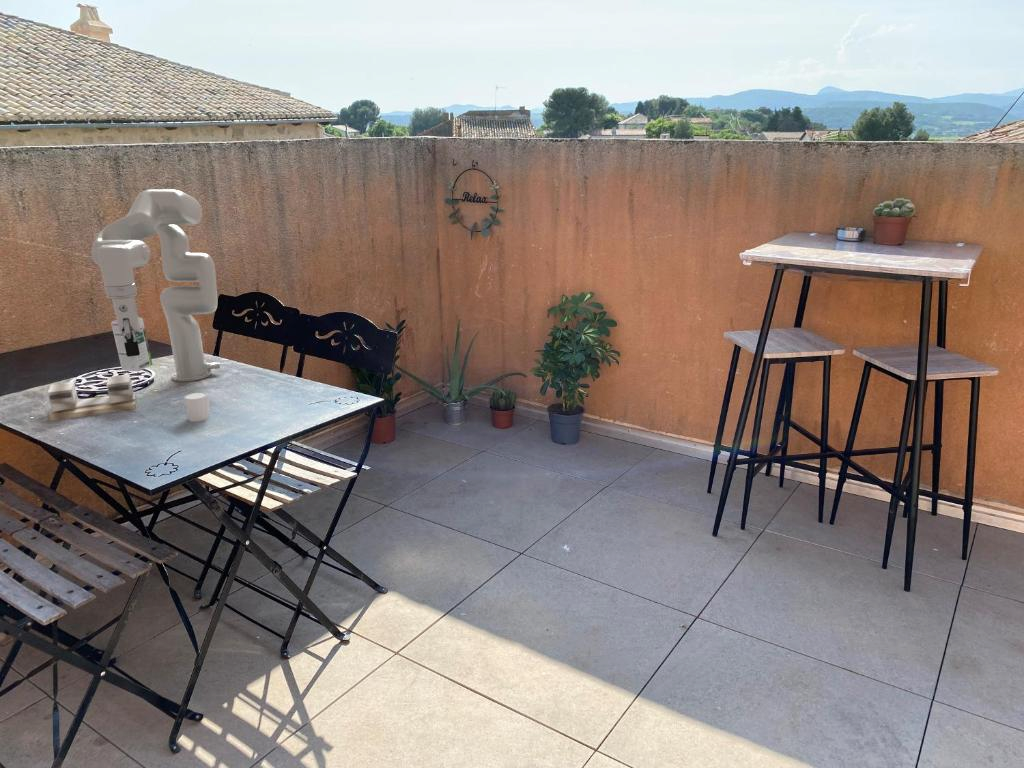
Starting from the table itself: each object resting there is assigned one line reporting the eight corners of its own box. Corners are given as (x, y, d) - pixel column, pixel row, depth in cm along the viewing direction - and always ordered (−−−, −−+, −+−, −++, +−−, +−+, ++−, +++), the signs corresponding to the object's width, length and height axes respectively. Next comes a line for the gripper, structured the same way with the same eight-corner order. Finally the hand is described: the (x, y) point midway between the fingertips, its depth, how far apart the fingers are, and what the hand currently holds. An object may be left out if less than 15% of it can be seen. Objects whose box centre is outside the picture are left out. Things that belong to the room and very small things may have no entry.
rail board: (136, 396, 218) (131, 372, 215) (135, 408, 208) (130, 383, 205) (55, 407, 209) (49, 382, 206) (50, 420, 198) (44, 395, 196)
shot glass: (204, 411, 205) (201, 390, 203) (216, 417, 201) (212, 395, 199) (182, 418, 200) (178, 396, 198) (193, 424, 196) (189, 401, 194)
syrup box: (139, 371, 191) (128, 322, 186) (120, 370, 192) (110, 320, 187) (153, 365, 196) (143, 316, 191) (135, 364, 197) (125, 315, 192)
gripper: (136, 295, 181) (148, 358, 187) (137, 283, 195) (148, 341, 201) (103, 298, 177) (117, 362, 184) (107, 285, 192) (119, 345, 198)
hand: (133, 351), depth 192 cm, fingers closed on syrup box, 7 cm apart
